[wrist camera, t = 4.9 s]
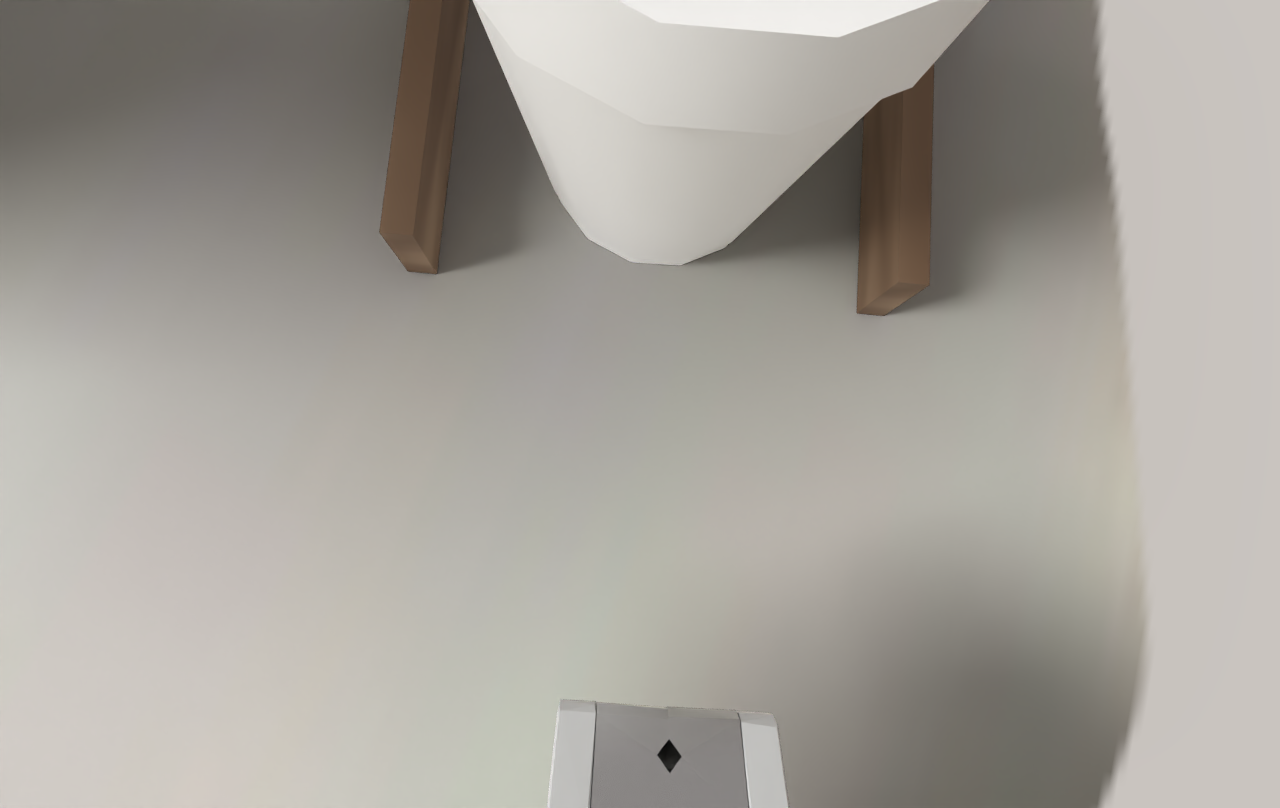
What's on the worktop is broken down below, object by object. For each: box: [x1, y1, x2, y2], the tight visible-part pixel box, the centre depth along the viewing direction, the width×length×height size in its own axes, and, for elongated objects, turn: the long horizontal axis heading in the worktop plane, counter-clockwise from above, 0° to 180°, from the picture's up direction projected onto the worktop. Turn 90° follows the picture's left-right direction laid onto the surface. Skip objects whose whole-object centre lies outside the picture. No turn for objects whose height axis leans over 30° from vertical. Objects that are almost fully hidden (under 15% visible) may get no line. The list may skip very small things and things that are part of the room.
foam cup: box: [473, 0, 989, 265], centre depth 16 cm, size 10×9×13 cm
